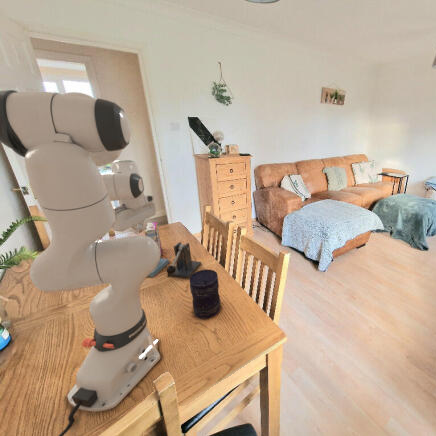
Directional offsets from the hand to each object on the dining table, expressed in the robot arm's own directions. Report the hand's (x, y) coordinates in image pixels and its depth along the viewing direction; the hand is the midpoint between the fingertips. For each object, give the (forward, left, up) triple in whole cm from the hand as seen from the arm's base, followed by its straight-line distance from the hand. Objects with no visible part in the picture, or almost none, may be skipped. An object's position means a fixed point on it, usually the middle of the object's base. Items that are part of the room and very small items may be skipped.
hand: (139, 232), depth 100 cm
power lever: (+4, -13, -15) cm, 20 cm away
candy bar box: (+18, +9, -23) cm, 30 cm away
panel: (+6, +3, -22) cm, 23 cm away
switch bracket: (+8, -13, -22) cm, 27 cm away
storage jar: (-14, -35, -23) cm, 44 cm away
